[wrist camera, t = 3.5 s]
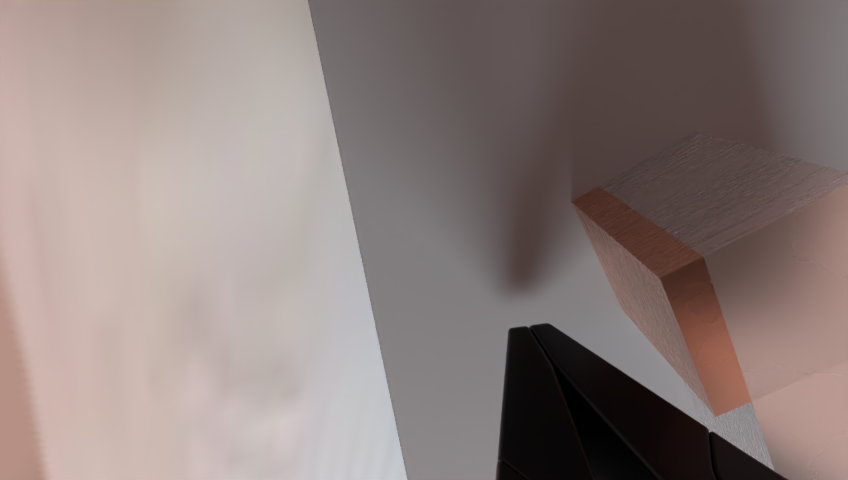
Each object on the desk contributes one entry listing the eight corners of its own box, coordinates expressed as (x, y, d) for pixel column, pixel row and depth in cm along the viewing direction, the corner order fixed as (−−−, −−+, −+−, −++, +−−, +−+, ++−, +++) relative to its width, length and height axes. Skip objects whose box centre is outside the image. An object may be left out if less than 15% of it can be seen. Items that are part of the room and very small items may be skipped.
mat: (912, 536, 17) (942, 564, 16) (437, 605, 17) (440, 637, 16) (1420, -166, 7) (1567, -196, 6) (312, -27, 7) (300, -38, 6)
